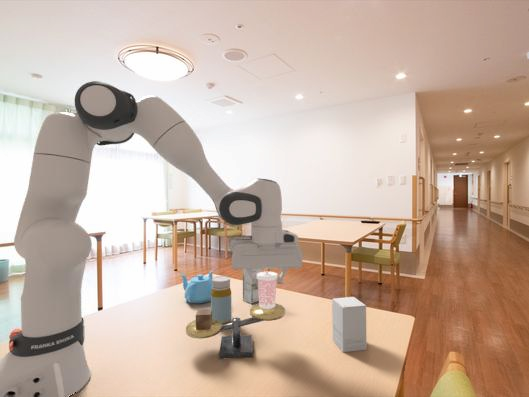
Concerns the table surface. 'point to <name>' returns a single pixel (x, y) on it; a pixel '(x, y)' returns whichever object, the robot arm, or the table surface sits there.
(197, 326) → the walnut block
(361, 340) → the supplement box
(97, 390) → the table surface
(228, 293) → the bottle
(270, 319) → the balance
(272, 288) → the beverage cup
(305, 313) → the table surface
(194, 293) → the teapot
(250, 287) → the syrup box
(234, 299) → the table surface
